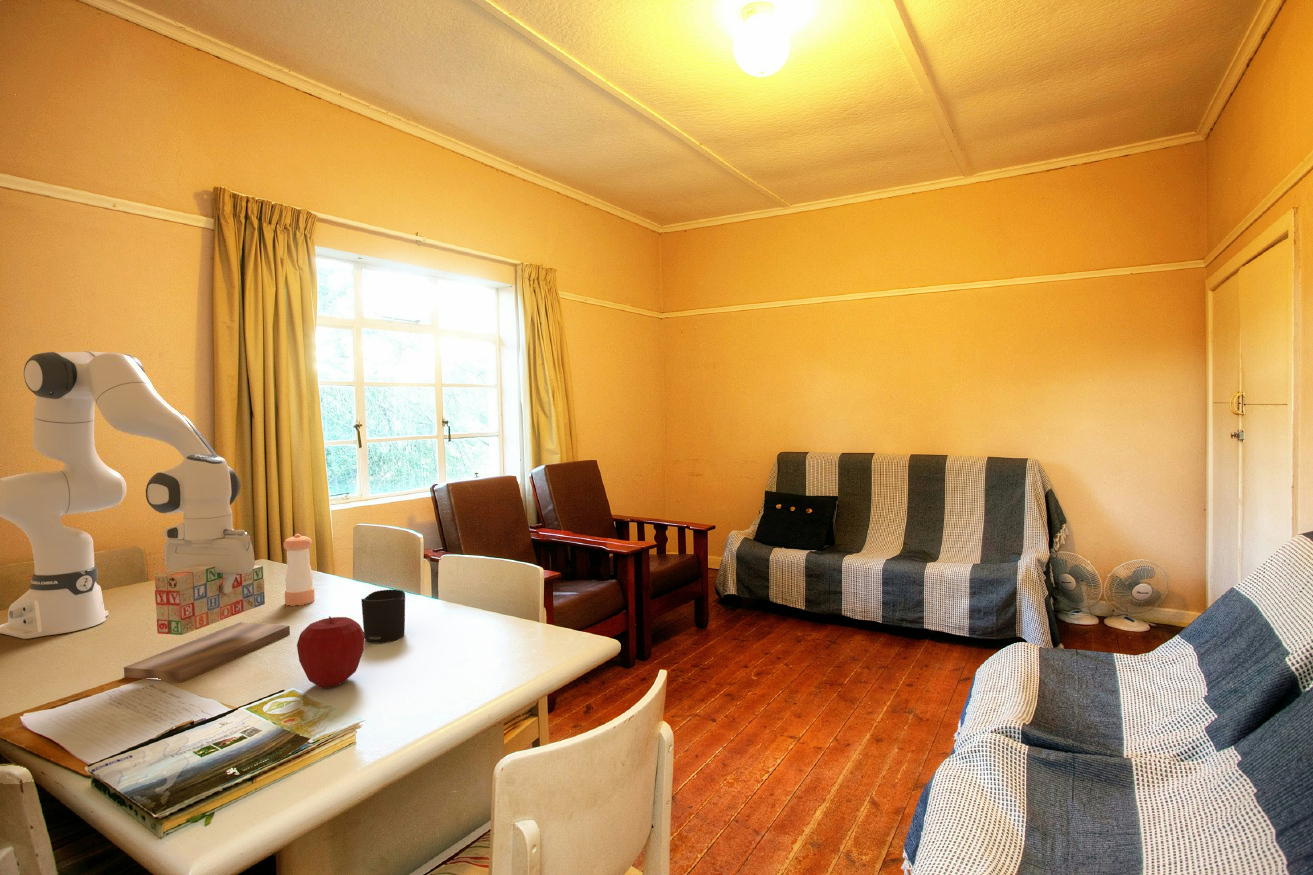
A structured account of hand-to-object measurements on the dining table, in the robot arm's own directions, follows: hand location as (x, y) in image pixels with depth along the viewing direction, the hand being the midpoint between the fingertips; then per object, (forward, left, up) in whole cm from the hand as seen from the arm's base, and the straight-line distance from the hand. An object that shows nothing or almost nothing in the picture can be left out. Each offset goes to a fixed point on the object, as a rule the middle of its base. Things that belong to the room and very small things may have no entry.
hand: (211, 591), depth 142 cm
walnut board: (0, 0, -14) cm, 14 cm away
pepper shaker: (-10, +37, -14) cm, 41 cm away
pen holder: (+31, +16, -14) cm, 38 cm away
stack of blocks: (0, +1, -6) cm, 6 cm away
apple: (+37, -9, -14) cm, 41 cm away
